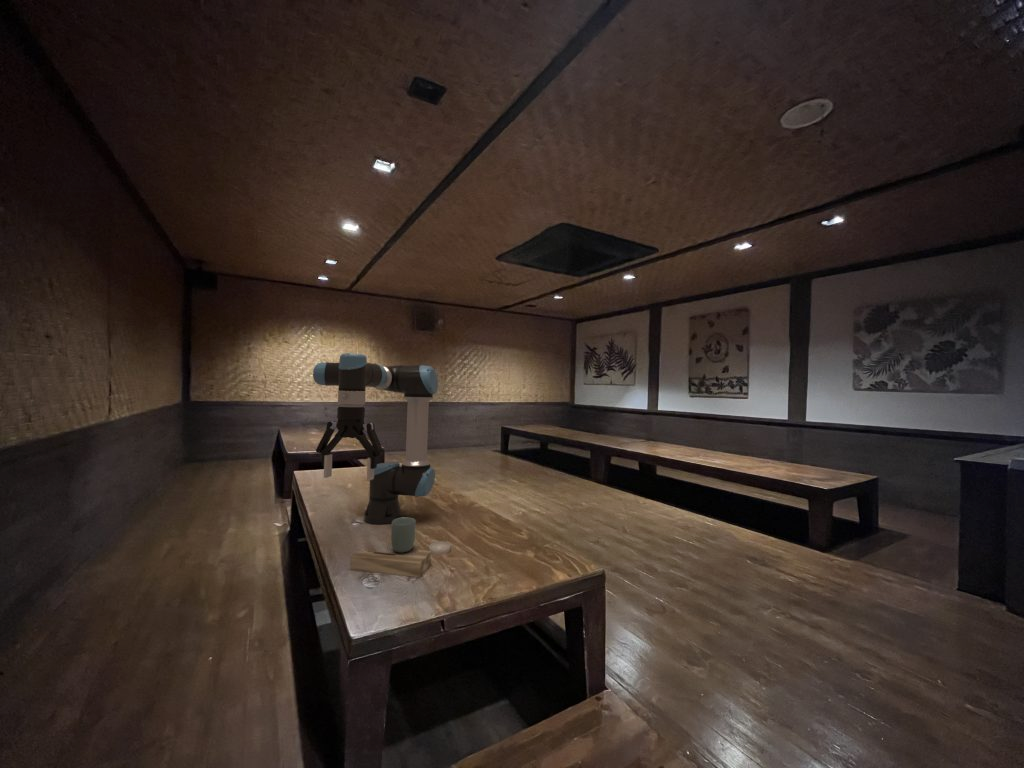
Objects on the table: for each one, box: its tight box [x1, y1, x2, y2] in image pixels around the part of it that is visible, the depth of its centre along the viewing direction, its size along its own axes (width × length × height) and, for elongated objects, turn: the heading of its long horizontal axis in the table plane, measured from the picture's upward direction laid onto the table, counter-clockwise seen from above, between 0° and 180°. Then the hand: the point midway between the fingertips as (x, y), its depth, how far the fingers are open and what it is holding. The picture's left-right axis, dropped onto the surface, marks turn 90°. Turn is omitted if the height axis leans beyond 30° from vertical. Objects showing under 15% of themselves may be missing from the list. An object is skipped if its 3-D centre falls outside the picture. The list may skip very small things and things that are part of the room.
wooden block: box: [349, 549, 432, 578], centre depth 121 cm, size 9×22×4 cm, turn 81°
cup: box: [390, 516, 417, 553], centre depth 134 cm, size 8×8×10 cm
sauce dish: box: [428, 540, 451, 555], centre depth 135 cm, size 7×7×2 cm
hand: (348, 478), depth 116 cm, fingers open, 13 cm apart
